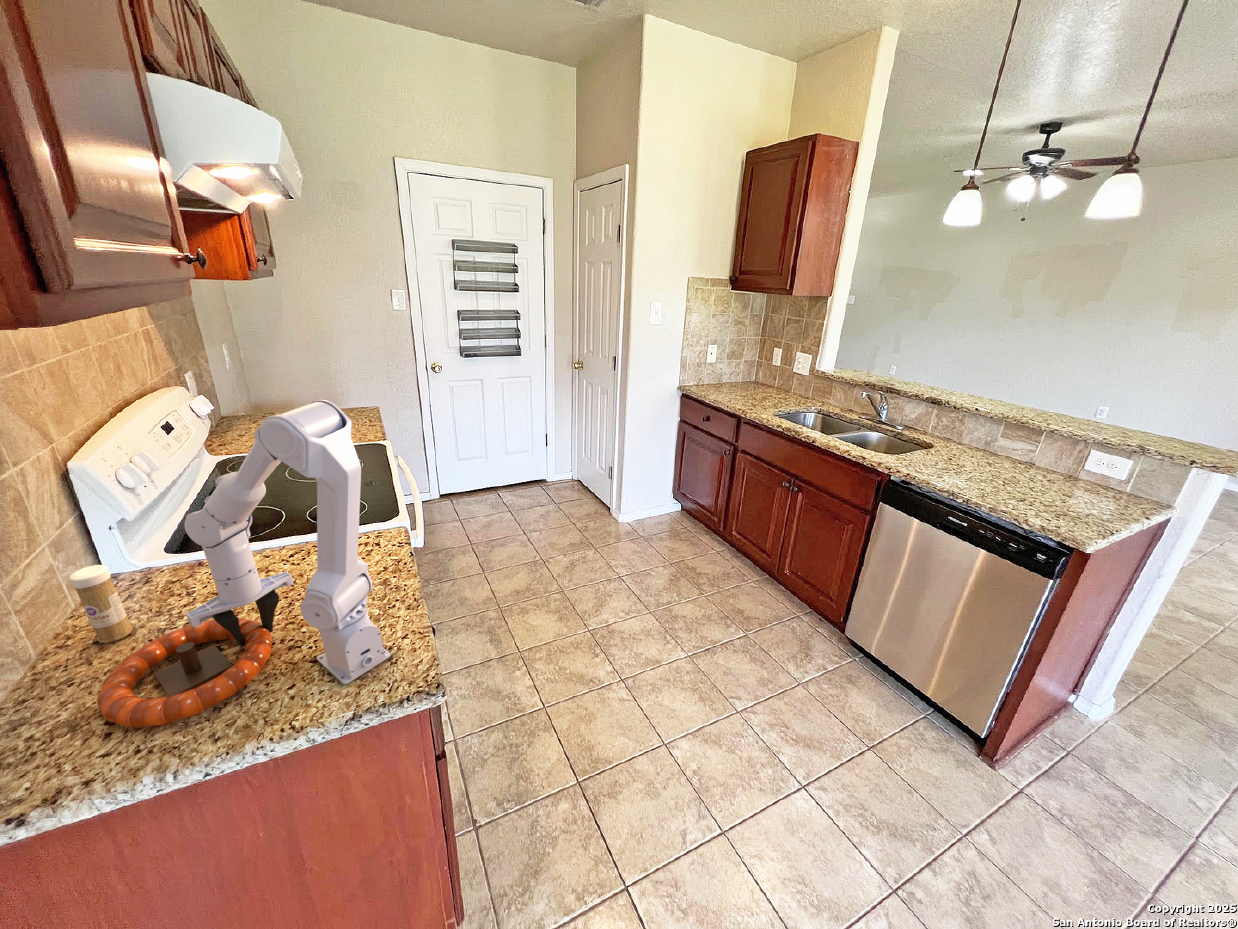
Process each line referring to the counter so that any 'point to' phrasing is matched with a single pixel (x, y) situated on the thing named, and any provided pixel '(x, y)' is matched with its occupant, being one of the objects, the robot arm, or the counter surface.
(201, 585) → the counter surface
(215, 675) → the stand
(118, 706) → the ring
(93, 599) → the sprinkles bottle
